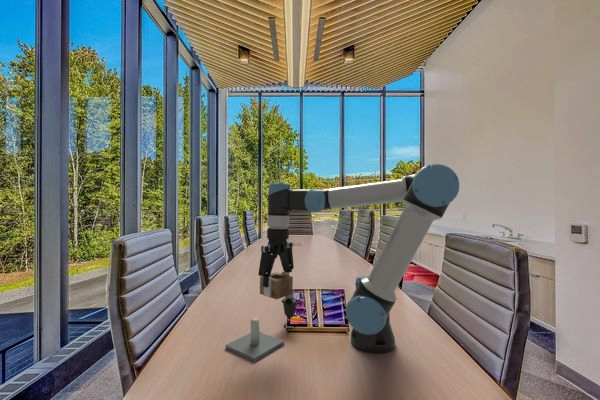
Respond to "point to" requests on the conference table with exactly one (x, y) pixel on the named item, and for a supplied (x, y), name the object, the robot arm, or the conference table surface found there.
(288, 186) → the robot arm
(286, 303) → the sundae
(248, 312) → the conference table surface
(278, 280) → the collar
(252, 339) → the post stand
